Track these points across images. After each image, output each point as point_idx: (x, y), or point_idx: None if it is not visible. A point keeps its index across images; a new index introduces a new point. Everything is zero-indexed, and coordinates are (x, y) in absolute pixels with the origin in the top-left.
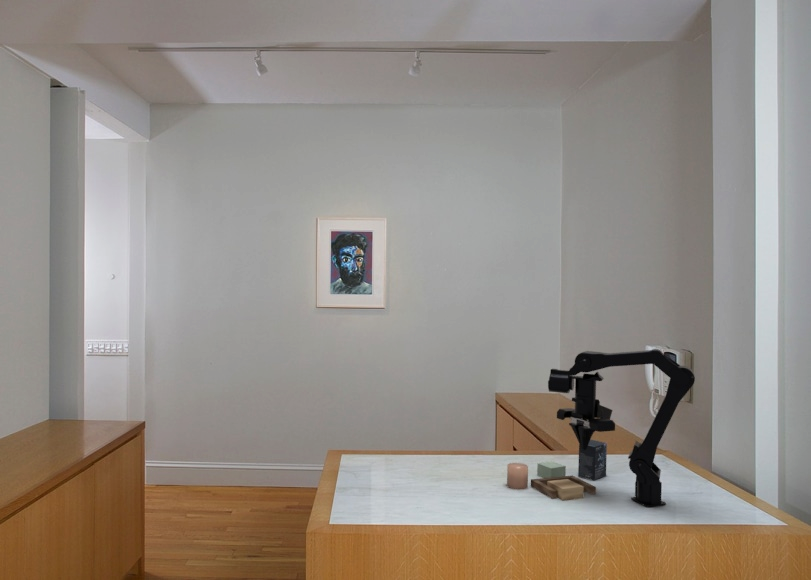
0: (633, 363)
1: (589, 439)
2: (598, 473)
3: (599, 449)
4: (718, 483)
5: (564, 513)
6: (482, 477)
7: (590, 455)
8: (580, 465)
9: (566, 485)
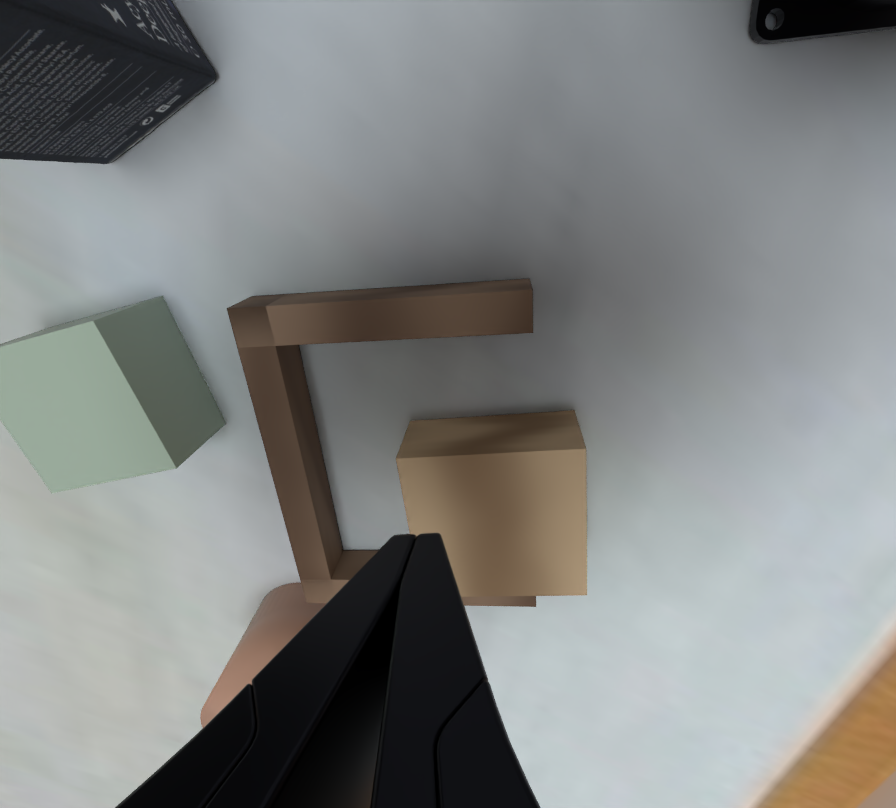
0: None
1: (490, 690)
2: None
3: None
4: None
5: (742, 624)
6: (178, 690)
7: None
8: (41, 148)
9: (531, 541)
